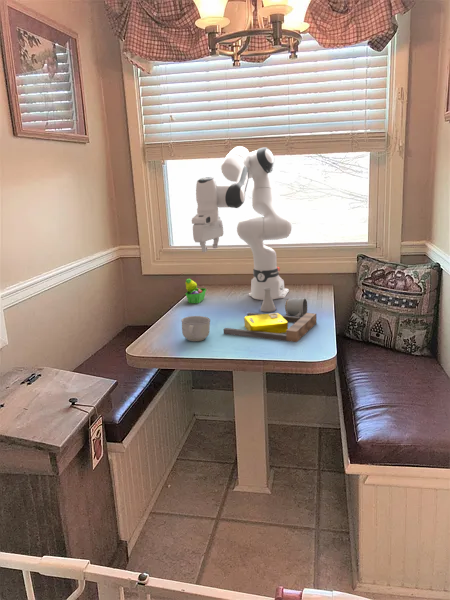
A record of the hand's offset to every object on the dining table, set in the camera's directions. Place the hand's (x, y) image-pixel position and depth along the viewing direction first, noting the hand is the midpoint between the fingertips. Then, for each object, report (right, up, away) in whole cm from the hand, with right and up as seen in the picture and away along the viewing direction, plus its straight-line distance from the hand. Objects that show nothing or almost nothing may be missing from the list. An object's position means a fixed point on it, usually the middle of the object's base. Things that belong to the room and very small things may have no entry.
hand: (210, 249), depth 219 cm
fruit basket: (-8, -22, +33) cm, 41 cm away
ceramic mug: (+37, -29, -1) cm, 47 cm away
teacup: (-5, -37, -24) cm, 44 cm away
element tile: (+23, -33, -15) cm, 43 cm away
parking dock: (+25, -33, -15) cm, 44 cm away
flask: (+26, -26, +10) cm, 38 cm away
